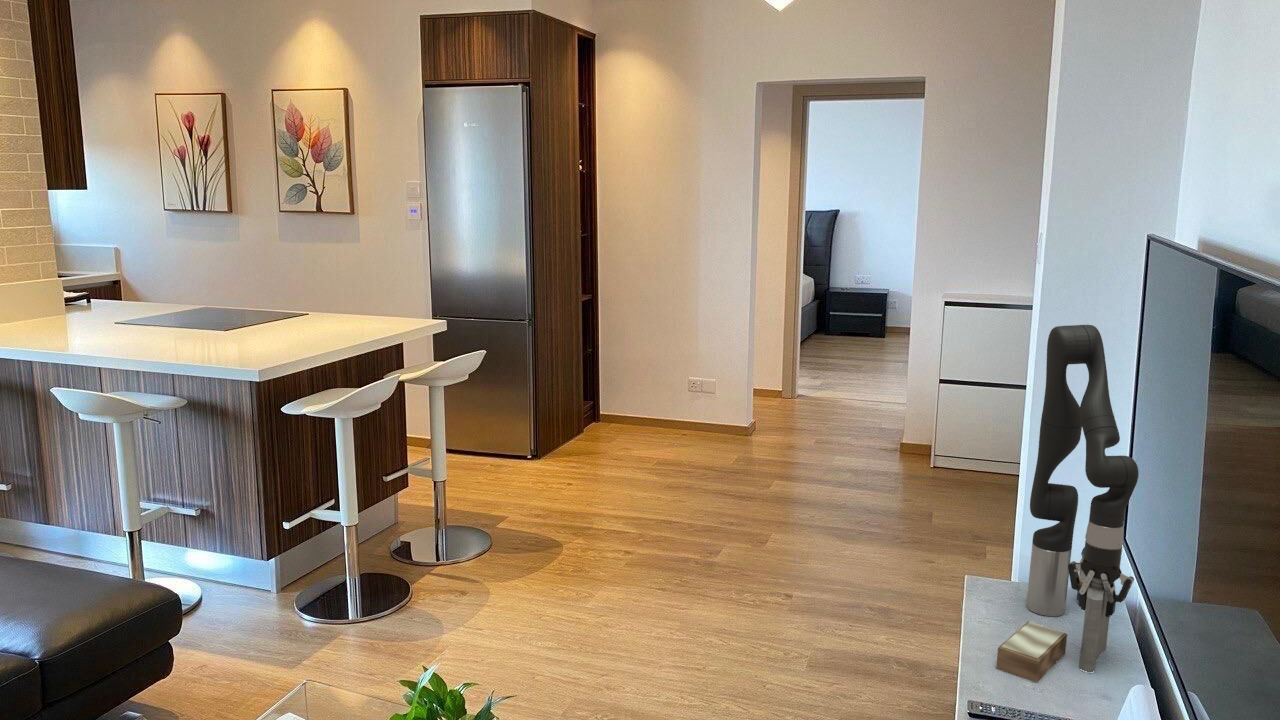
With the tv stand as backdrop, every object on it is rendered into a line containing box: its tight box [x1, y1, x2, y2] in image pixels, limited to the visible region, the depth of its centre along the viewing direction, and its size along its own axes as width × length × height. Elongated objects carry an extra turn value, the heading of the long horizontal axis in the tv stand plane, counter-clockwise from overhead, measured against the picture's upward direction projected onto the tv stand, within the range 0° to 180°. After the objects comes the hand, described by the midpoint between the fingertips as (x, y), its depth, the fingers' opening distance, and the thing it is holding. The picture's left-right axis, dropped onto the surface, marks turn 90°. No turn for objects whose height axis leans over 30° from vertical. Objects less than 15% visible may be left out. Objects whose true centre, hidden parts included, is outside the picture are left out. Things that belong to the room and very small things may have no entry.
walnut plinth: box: [995, 620, 1068, 683], centre depth 218 cm, size 18×9×5 cm, turn 138°
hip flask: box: [1078, 577, 1111, 672], centre depth 219 cm, size 16×4×20 cm, turn 144°
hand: (1095, 612), depth 219 cm, fingers open, 4 cm apart
